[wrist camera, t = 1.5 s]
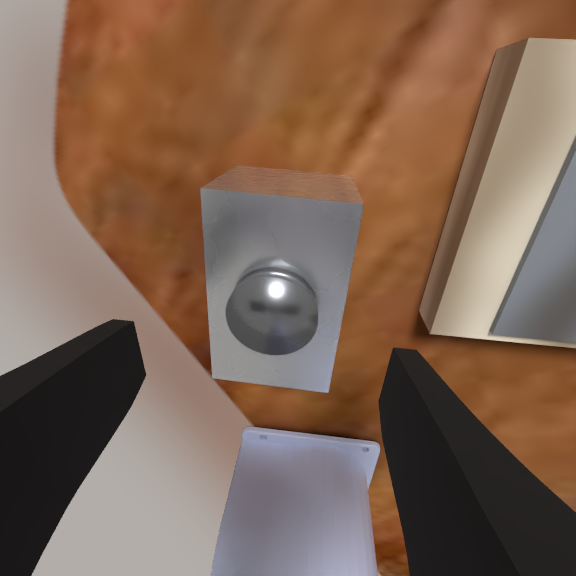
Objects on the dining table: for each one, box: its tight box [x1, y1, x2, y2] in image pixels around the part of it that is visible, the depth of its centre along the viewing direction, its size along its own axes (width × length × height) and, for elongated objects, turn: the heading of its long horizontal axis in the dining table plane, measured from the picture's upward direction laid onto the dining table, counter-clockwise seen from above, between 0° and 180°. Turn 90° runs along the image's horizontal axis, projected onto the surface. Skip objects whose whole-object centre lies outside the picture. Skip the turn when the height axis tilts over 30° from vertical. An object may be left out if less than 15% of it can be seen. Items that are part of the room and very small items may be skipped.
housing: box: [200, 165, 364, 393], centre depth 13 cm, size 5×8×6 cm, turn 176°
